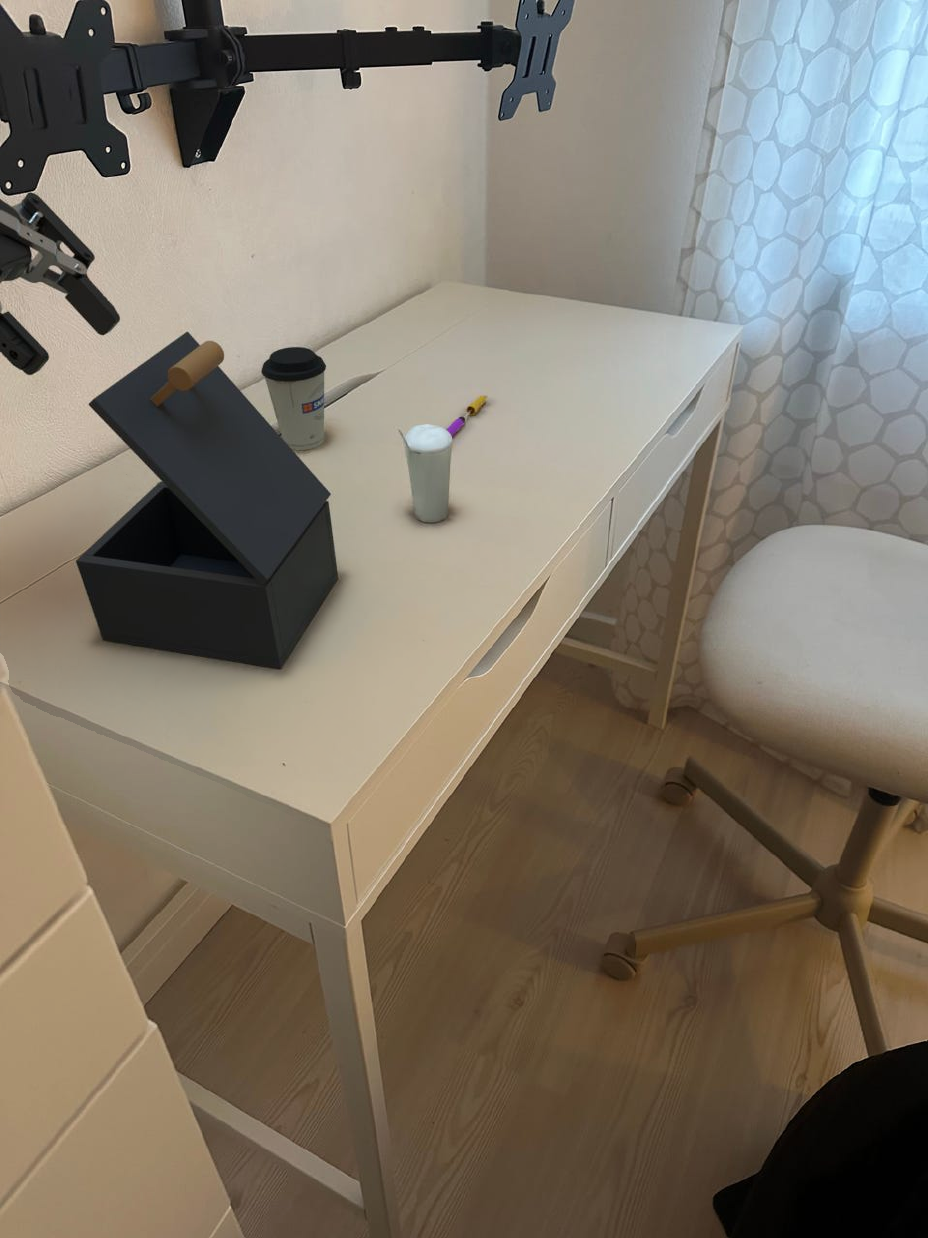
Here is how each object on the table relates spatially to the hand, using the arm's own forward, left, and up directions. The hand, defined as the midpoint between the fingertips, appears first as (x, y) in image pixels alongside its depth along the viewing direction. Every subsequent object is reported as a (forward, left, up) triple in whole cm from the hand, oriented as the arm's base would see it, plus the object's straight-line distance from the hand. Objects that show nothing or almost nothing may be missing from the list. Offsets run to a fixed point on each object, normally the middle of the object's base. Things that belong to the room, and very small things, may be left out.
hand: (78, 346), depth 64 cm
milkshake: (+27, -1, -23) cm, 35 cm away
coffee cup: (+23, +21, -23) cm, 39 cm away
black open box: (+5, -5, -23) cm, 24 cm away
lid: (+7, -6, -8) cm, 12 cm away
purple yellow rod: (+39, +15, -23) cm, 48 cm away
